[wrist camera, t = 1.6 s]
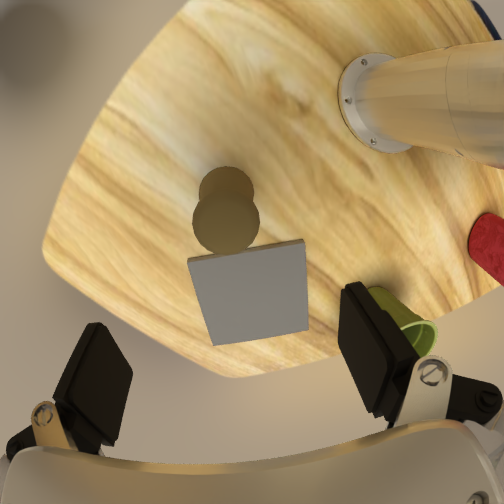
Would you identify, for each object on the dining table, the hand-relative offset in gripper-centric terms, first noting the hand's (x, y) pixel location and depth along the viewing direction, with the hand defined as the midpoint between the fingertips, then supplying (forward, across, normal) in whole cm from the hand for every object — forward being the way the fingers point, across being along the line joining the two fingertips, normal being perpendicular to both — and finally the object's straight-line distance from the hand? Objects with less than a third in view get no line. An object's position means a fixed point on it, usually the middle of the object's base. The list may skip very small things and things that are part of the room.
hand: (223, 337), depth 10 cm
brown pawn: (+22, 0, 0) cm, 22 cm away
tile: (+22, -1, +14) cm, 26 cm away
